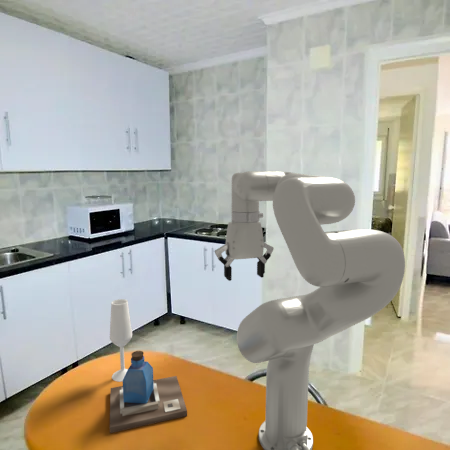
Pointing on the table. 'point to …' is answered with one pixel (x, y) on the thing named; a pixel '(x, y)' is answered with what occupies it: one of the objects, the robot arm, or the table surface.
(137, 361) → the perfume bottle
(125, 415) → the board
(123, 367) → the champagne flute
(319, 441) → the table surface
